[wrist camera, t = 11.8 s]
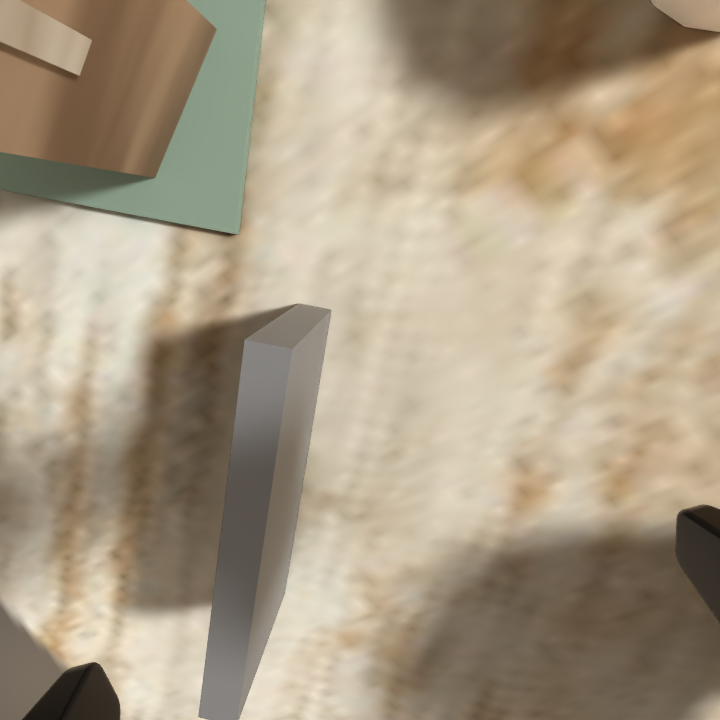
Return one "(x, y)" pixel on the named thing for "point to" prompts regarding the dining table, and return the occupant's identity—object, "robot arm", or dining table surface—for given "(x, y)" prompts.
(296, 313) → the gray rectangular block
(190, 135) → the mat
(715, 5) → the white short cylinder
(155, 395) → the dining table surface
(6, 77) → the letter block
